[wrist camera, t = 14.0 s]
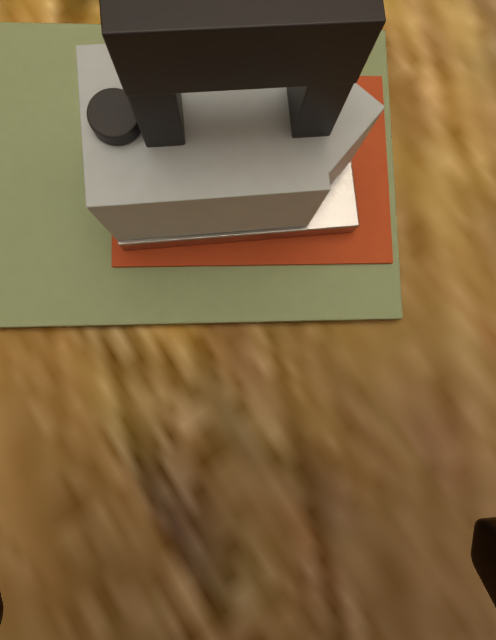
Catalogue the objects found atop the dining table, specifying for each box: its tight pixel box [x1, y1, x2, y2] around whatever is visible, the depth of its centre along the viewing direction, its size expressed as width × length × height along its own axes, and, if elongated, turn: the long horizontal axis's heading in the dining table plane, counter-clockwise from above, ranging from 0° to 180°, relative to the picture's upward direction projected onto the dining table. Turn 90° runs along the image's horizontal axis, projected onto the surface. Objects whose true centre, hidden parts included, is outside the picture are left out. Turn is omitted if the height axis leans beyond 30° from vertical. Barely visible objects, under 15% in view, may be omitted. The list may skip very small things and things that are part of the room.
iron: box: [76, 0, 386, 251], centre depth 14 cm, size 11×6×10 cm, turn 95°
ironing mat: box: [0, 22, 403, 328], centre depth 19 cm, size 28×15×1 cm, turn 91°
